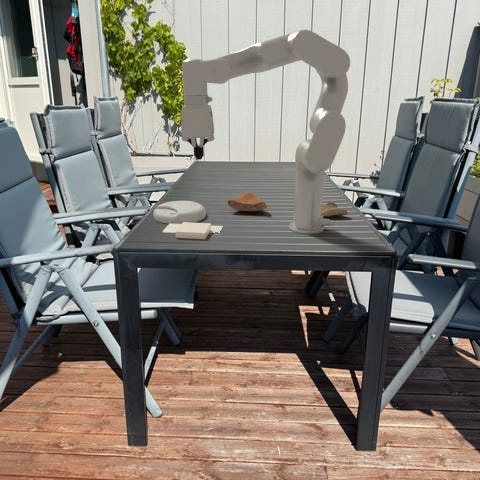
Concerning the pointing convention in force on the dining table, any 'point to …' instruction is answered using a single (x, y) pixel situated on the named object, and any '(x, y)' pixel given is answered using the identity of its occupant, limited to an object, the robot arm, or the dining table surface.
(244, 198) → the ceramic shard
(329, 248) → the dining table surface
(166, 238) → the dining table surface
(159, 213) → the round ceiling alarm
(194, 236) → the glazed tile
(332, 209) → the pottery shard
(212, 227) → the mat
